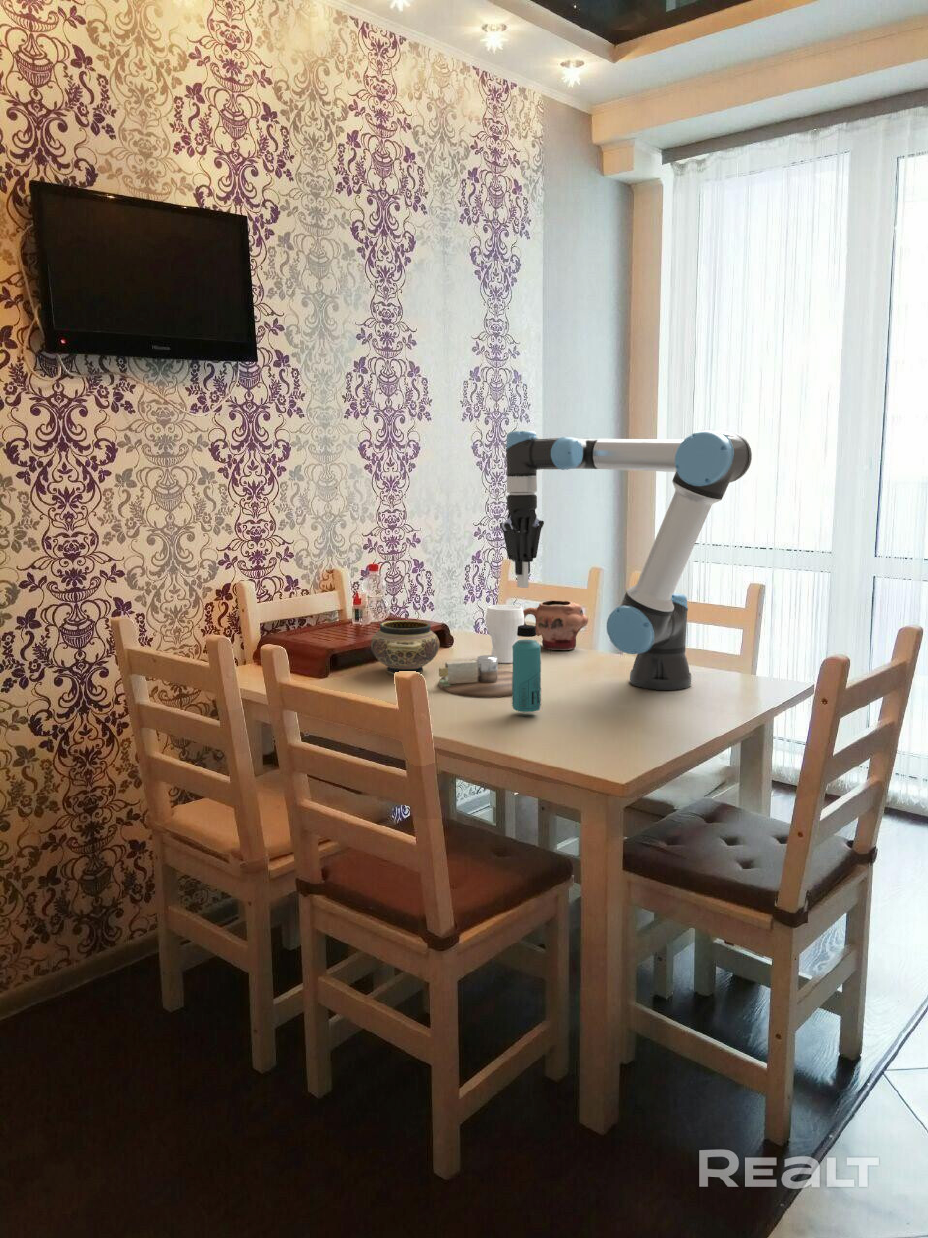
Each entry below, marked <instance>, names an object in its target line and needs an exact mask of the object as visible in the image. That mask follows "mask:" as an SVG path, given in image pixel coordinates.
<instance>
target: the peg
mask: <svg viewBox="0 0 928 1238" xmlns="http://www.w3.org/2000/svg"><path fill="white" fill-rule="evenodd" d="M444 665H445V666H444V667H439V668H438V677H439V678H442V677H445V682H446V683H447V684H458V683H472V682H477V680H478V681H479V682H485V683H491V682H496V681H497V676H498V670H499V669H498V665H499V663H498V657H497V656H492V655H491V654H490V655H489V654H488V655H487V654H484V655H479V656H477V661H476V660H475V659H473V660H459V661H445V664H444Z"/></svg>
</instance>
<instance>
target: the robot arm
mask: <svg viewBox="0 0 928 1238" xmlns="http://www.w3.org/2000/svg"><path fill="white" fill-rule="evenodd" d="M505 445H506V447H505V455H506V493H508V495H507V496H506V509H507V510H508V514H507V517H506V520H505V521H504V522H500V524H499V527H500V529H501V531H502V532H503V537H504V538H503V539H504V544H505V548H506V553H507V557H508V560H511V561H512V562H514V574H515V575H516V586H517V588H522V589H528V588H529V574H531V562H533V561H534V559H536V558H537V555H538V550H539V544H540V539H541V532H542V529H543V527H544V523H545V521H544V520H540V519H539V518H537V513H536V509H537V508H538V504H537V503H538V500H537V499H538V496H537V494H535V493H537V492H538V488H537V487H538V485H537V484H538V481H537V479H538V477H537V476H538V475H537V473H538V472H537V470H563V471H567V470H573V469H574V470H575V469H577V470H578V469H580V470H581V469H582V470H610V471H611V470H615V471H617V470H618V471H639V472H640V471H643V472H644V471H645V472H667V473H671V472H672V473H673V472H674V475H673V478H672V481H671V482H672V484H673V486H674V489H675V490H674V493H673V495H672V498H671V501H670V504H668V505H669V506H668V508H667V511H666V512H665V515H664V518H663V520H662V522H661V525H660V527H659V530H658V532H657V535H656V536H655V539H654V542H653V544H652V547H651V548H650V551H649V553H648V556H647V559H646V561H645V563H644V565H643V567H642V571H641V573H640V575H639V578H638V580H637V582H636V584H635V585H632V586H631V587H628V588H627V590H626V591H625V594H624V596H623V599H622V601H621V603H620V606H618V607H615V608H614V609H613V610H612V611H611V613H610V614H608V618H607V619H606V632H607V633H606V634H607V636H608V638H609V640H610V642H611V643H612V645H613V646H614V647H615V648H616V649H617V650H618V651H620V652H622V653H625V654H627V655H636V656H635V658H634V659H635V660H634V663H633V666H632V669H631V670H630V672H629V683H630V684H631V685H633V686H636V687H639V688H643V689H648V690H654V691H655V690H657V691H658V690H659V691H674V690H676V691H677V689H678V690H683V688H684V689H687V688H689V687H691V686H692V679H693V677H692V673H691V672H690V667H689V663H688V659H687V655H686V648H687V647H686V646H687V645H686V644H687V625H688V623H687V622H688V610H689V607H688V598H687V596H686V595H684V594H683V593H682V594H681V593H675V591H676V588H677V587H678V583H679V581H680V579H681V577H682V574H683V572H684V570H685V567H686V565H687V562H688V561H689V558H690V556H691V555H692V551H693V549H694V547H695V544H696V542H697V540H698V538H699V535H700V533H701V531H702V528H703V526H704V524H705V522H706V519H707V518H708V516H709V515H708V514H709V513H710V510H711V508H712V505H714V504H716V503H718V502H720V501H722V500H723V498H724V495H725V493H726V491H727V489H728V487H729V484H731V483H733V482H735V481H738V480H739V479H741V478H742V477H743V476H745V474H746V473H747V472H748V471H749V469H750V467H751V464H752V459H753V453H752V448H751V446H750V444H749V442H748V440H747V439H746V438H745V437H744V436H742V435H741V434H739V433H737V432H736V431H735V432H734V431H728V430H725V431H724V430H715V429H704V430H701V431H699V430H698V431H695V432H694V433H691V434H690V435H688V436H687V437H685V438H684V439H647V438H646V439H645V438H643V439H642V438H641V439H638V438H636V439H635V438H632V439H631V438H630V439H629V438H627V439H626V438H589V437H588V438H587V437H584V438H575V437H568V436H566V437H563V436H562V437H552V438H551V437H549V438H538V437H537V433H536V431H533V430H520V431H518V430H517V431H510V432H508V433H507V434H506V444H505ZM690 685H691V686H690ZM688 686H689V687H688ZM686 687H687V688H686Z"/></svg>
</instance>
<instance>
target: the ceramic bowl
mask: <svg viewBox="0 0 928 1238" xmlns="http://www.w3.org/2000/svg"><path fill="white" fill-rule="evenodd" d="M431 628H432V625H431V623H430V622H426V621H420V620H409V619H408V620H407V619H406V620H403V619H402V620H400V619H394V620H387V621H383V622H380V623H379V630H378V631H377V632H375V633H374V634H373V635H372V638H371V641H370V647H371V651H372V653H373V655H374V657H375V658H376V659H377V661H379V662H380V663H381V664H383V665H384V666H386V667H387V669H386V670H387V671H386V672H387V673H389V674H391V675H394V673H395V672H399V671H416V672H420V673H419V674H421V673H423V672H424V667H425V666H426V665H428V664H429V663H430V662H432V661H433V660H434V659H435V657H436V656H437V654H438V653H439V649H440V644H441V643H440V640H439V638H438V635H437V634H436V633H434V631H432V630H431Z"/></svg>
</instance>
